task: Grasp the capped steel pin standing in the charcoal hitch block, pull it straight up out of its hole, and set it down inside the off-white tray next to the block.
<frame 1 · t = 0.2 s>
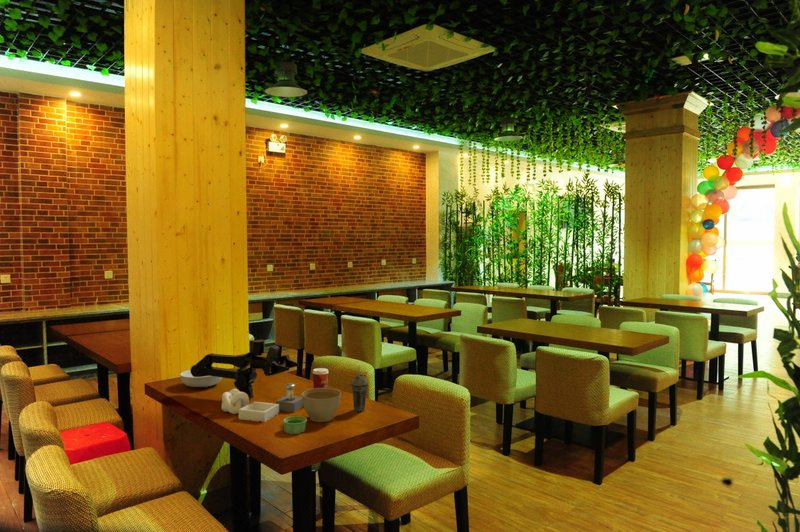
hand: (293, 366, 245), 17 cm above the table, tool horizontal, fingers open, 9 cm apart
ramekin: (295, 431, 210), on the table
paper cup: (320, 399, 253), on the table
white knot sculpture: (232, 411, 233), on the table
tray: (259, 416, 227), on the table
beverage cup: (359, 410, 237), on the table
hitch block: (289, 408, 238), on the table
planter bowl: (321, 419, 224), on the table
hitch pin: (289, 396, 238), in the hitch block
serving bowl: (202, 386, 273), on the table
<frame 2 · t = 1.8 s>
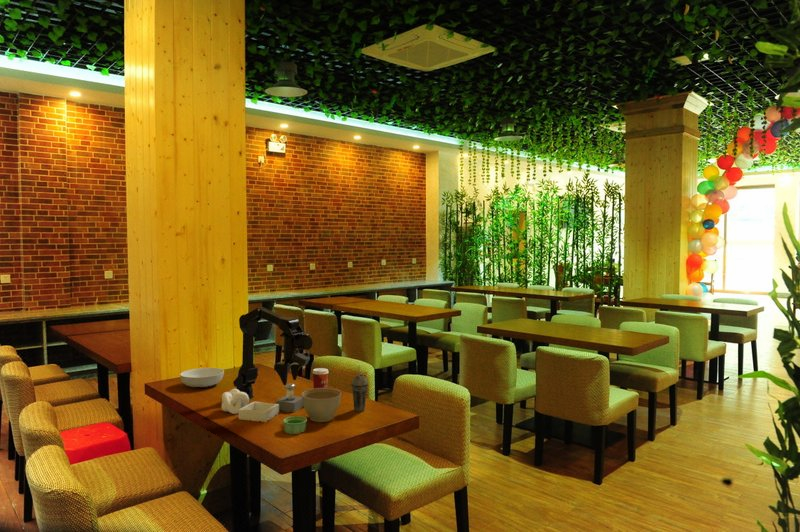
hand: (289, 382, 238), 11 cm above the table, tool pointing down, fingers open, 9 cm apart
nothing on the table moved.
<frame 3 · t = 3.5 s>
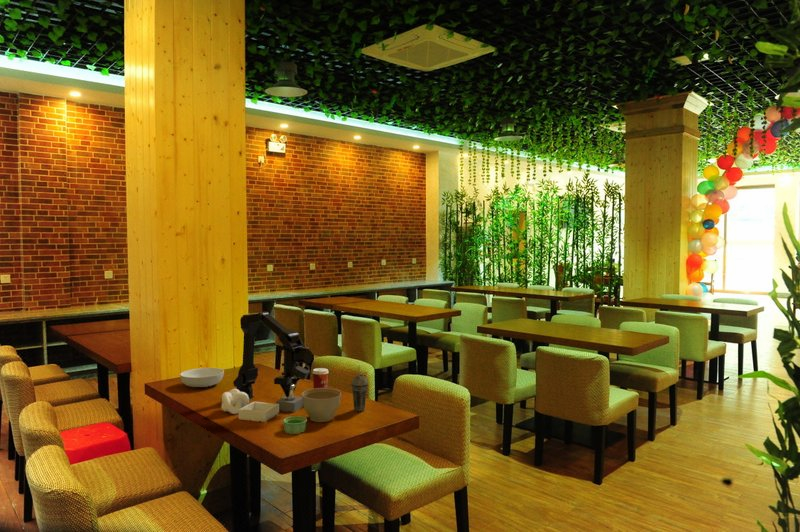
hand: (289, 395, 238), 6 cm above the table, tool pointing down, fingers closed on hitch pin, 4 cm apart
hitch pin: (289, 396, 238), in the hitch block, touching gripper
everything else where it was.
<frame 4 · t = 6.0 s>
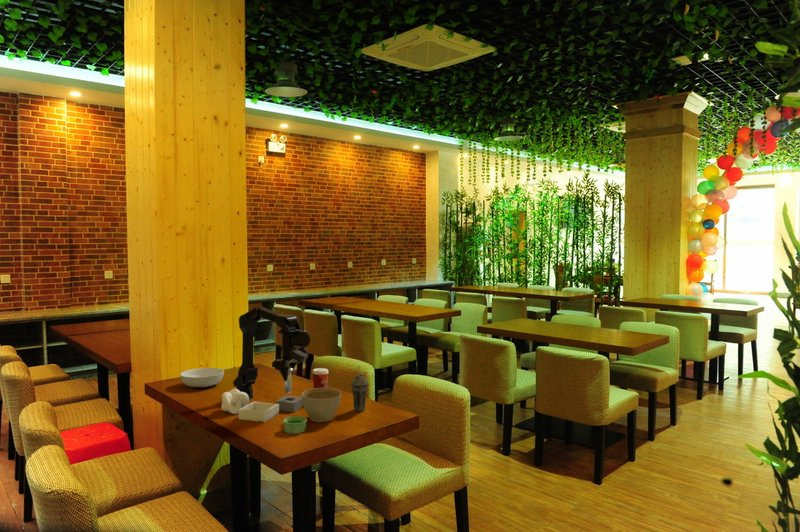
hand: (287, 379, 237), 13 cm above the table, tool pointing down, fingers closed on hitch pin, 4 cm apart
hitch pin: (288, 380, 237), point 13 cm above the table, touching gripper
everything else where it was.
when the fingers open (8 cm above the table, at t = 8.5 s): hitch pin drops 1 cm, resting on tray.
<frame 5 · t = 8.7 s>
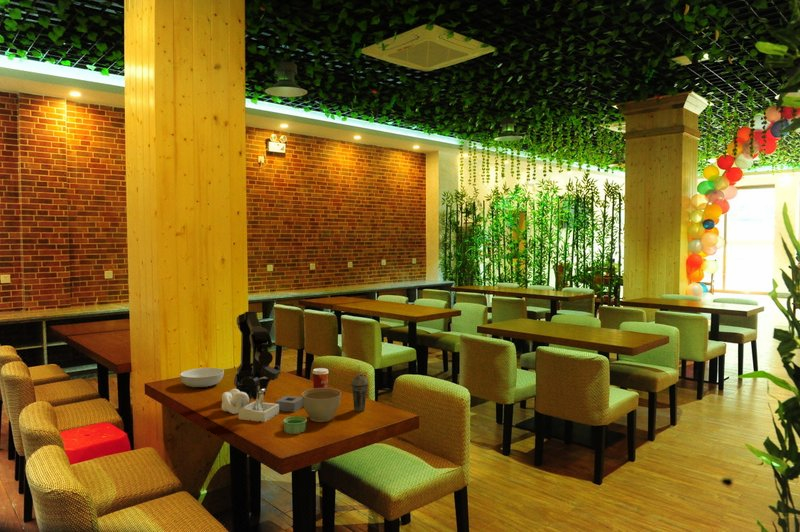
hand: (259, 397, 226), 8 cm above the table, tool pointing down, fingers open, 6 cm apart
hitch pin: (259, 401, 226), in the tray, point 6 cm above the table
everything else where it was.
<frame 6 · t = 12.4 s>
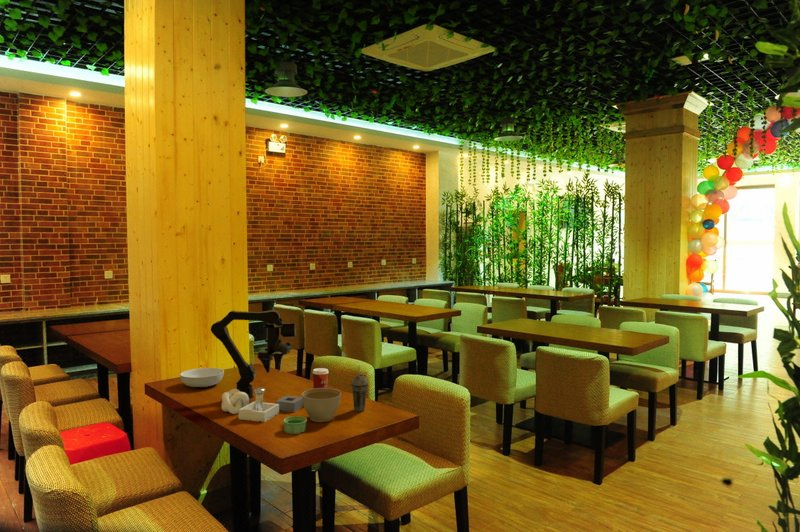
hand: (272, 370, 253), 13 cm above the table, tool pointing down, fingers open, 9 cm apart
nothing on the table moved.
at the end: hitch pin inside the target area on the tray (0.0 cm from its centre), point 6.3 cm above the tray's base; the gripper is holding nothing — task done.
